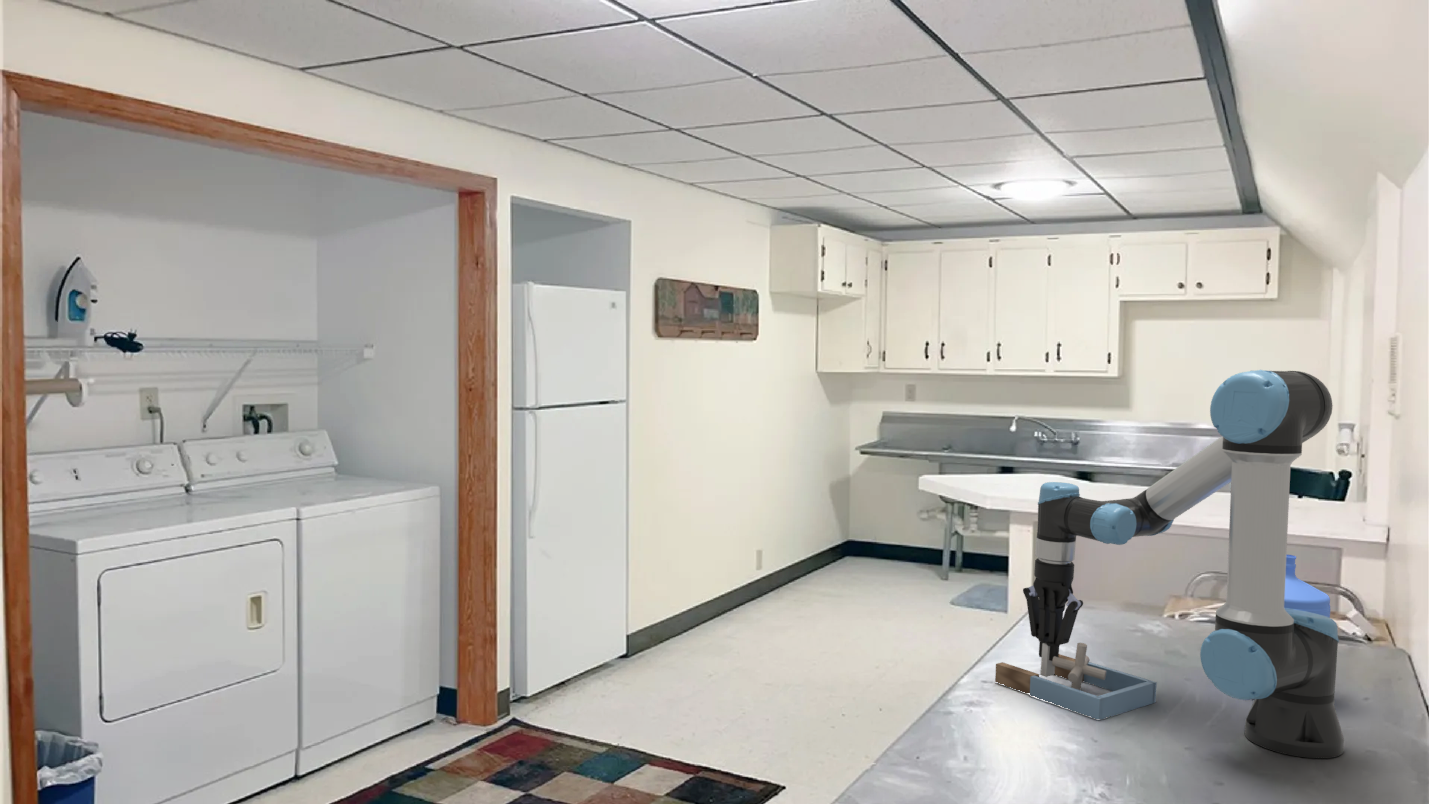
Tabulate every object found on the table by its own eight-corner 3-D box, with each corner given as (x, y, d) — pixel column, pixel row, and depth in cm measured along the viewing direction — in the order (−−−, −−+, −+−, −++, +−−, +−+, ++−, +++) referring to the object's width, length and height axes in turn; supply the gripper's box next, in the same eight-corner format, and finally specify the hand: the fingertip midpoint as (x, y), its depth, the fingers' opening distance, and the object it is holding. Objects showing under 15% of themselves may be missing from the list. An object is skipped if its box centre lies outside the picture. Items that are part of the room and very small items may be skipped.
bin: (1155, 702, 200) (1156, 682, 200) (1098, 720, 190) (1099, 699, 190) (1087, 680, 213) (1088, 661, 213) (1029, 696, 202) (1030, 676, 202)
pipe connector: (1095, 709, 199) (1103, 661, 197) (1043, 693, 204) (1049, 646, 202) (1107, 689, 207) (1114, 643, 205) (1056, 674, 212) (1062, 629, 210)
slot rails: (1085, 681, 212) (1085, 662, 212) (1031, 696, 203) (1032, 675, 202) (1048, 669, 220) (1048, 651, 220) (995, 683, 210) (995, 663, 210)
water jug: (1338, 712, 197) (1346, 566, 196) (1249, 704, 201) (1256, 561, 199) (1308, 686, 213) (1316, 550, 211) (1226, 679, 216) (1232, 546, 214)
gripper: (1094, 564, 205) (1086, 681, 207) (1039, 551, 215) (1032, 662, 217) (1070, 568, 201) (1062, 687, 202) (1016, 555, 211) (1009, 668, 213)
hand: (1047, 674), depth 210 cm, fingers closed
